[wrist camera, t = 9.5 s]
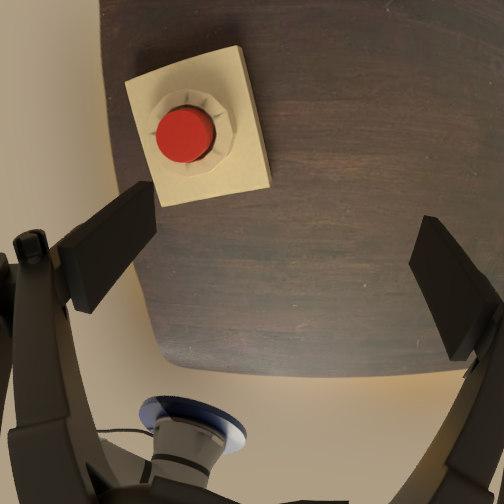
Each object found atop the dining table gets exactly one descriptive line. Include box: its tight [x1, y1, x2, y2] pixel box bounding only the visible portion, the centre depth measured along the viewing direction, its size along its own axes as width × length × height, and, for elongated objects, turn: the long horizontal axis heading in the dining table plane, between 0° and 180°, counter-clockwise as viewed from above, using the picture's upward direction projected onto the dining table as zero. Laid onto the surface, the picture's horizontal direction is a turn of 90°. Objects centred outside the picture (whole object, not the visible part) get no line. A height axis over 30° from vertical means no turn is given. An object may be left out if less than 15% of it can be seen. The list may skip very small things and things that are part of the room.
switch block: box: [125, 45, 272, 207], centre depth 24 cm, size 10×12×4 cm
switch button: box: [156, 108, 213, 163], centre depth 22 cm, size 4×4×2 cm
